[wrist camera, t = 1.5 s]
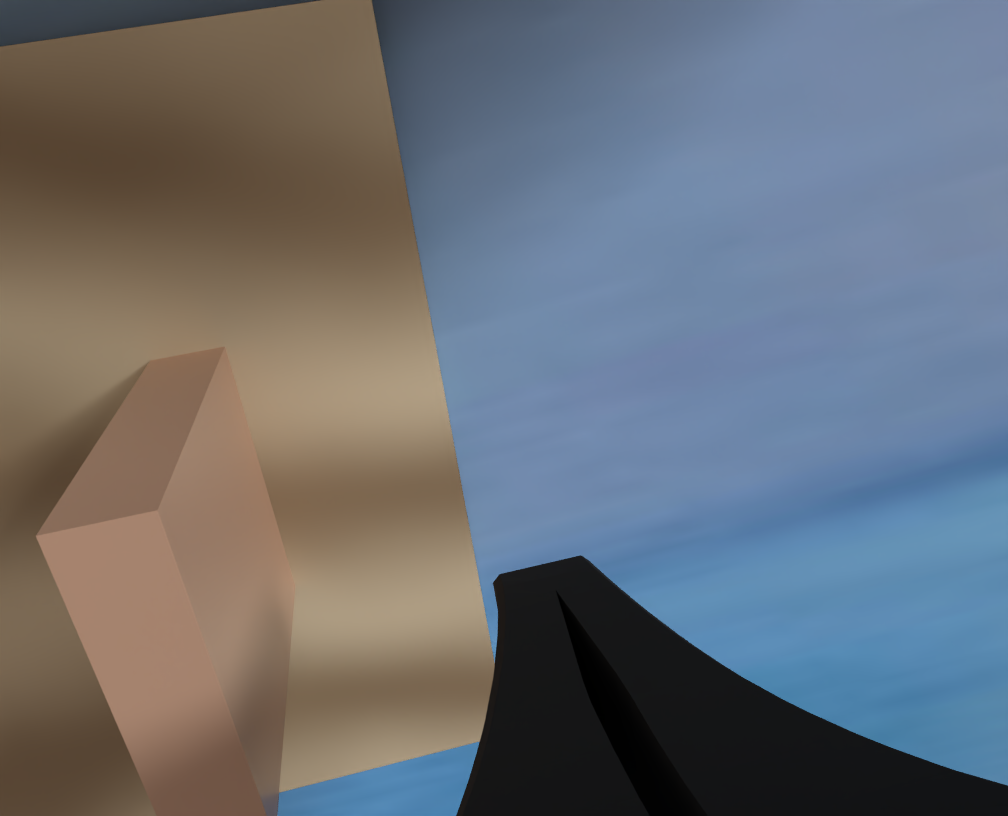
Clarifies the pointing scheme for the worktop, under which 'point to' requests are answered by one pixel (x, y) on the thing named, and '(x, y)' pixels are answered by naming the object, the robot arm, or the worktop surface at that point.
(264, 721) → the tile
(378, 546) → the wooden board
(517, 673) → the robot arm
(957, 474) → the worktop surface
